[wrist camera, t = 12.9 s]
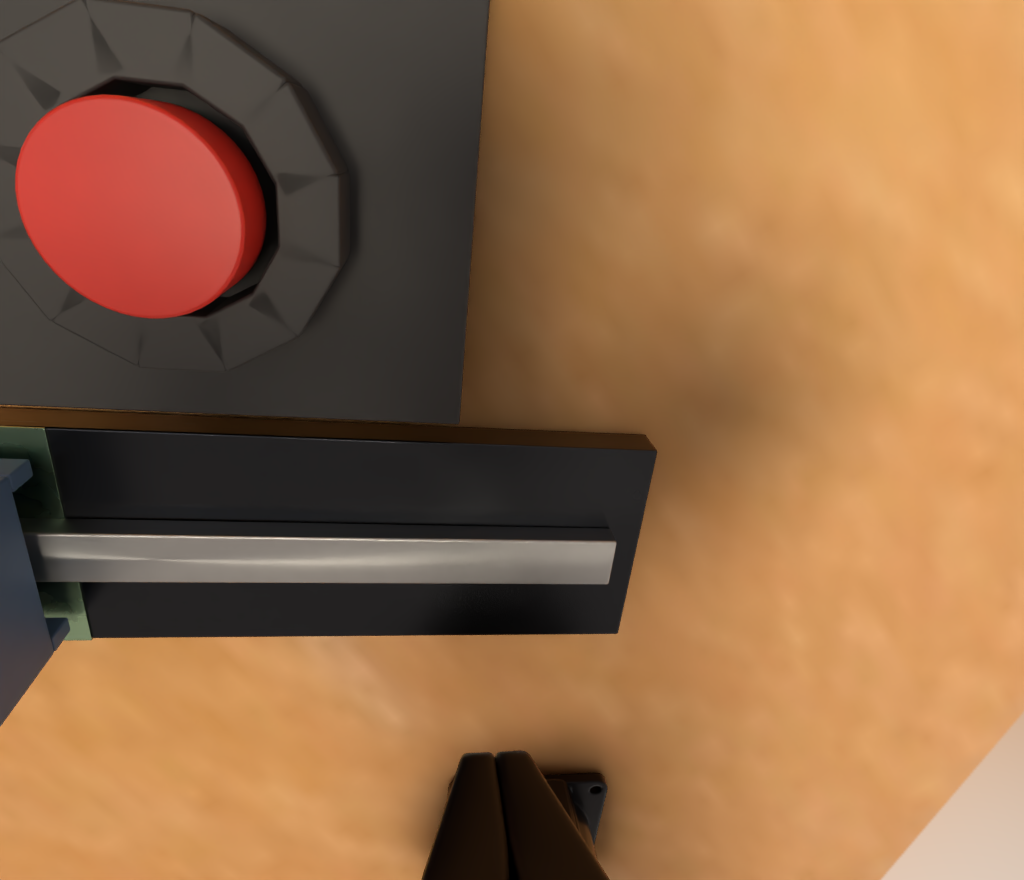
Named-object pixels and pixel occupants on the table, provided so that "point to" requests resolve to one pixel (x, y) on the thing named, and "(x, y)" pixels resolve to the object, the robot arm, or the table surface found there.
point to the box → (267, 205)
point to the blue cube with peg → (20, 600)
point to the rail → (324, 525)
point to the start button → (139, 204)
